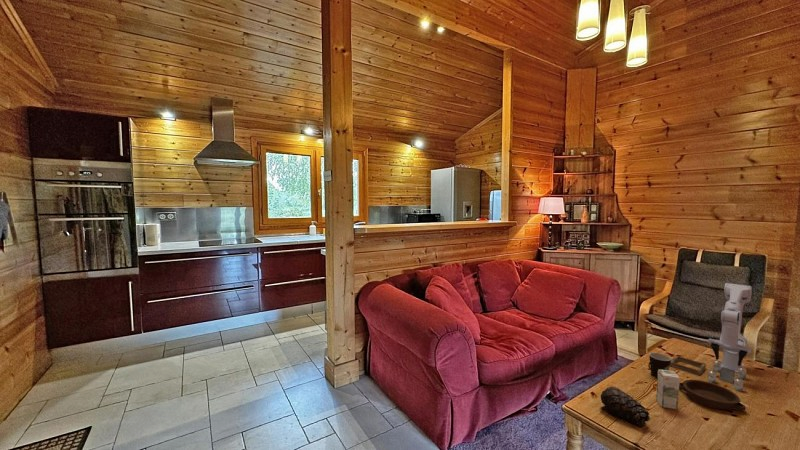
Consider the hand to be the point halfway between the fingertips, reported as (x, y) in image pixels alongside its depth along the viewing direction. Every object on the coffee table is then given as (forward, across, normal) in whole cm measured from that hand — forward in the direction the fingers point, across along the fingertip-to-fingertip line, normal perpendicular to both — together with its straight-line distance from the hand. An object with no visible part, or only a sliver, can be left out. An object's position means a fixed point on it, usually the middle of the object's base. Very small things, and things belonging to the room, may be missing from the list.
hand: (728, 362), depth 160 cm
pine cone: (+9, -19, -70) cm, 73 cm away
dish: (+9, -1, -29) cm, 30 cm away
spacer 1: (+9, -4, -8) cm, 13 cm away
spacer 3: (+9, +4, +8) cm, 12 cm away
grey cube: (+9, 0, 0) cm, 9 cm away
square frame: (+9, -15, 0) cm, 17 cm away
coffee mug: (+9, -22, -23) cm, 33 cm away
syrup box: (+9, -11, -48) cm, 50 cm away
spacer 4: (+9, +5, -8) cm, 13 cm away
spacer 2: (+9, -5, +8) cm, 13 cm away
